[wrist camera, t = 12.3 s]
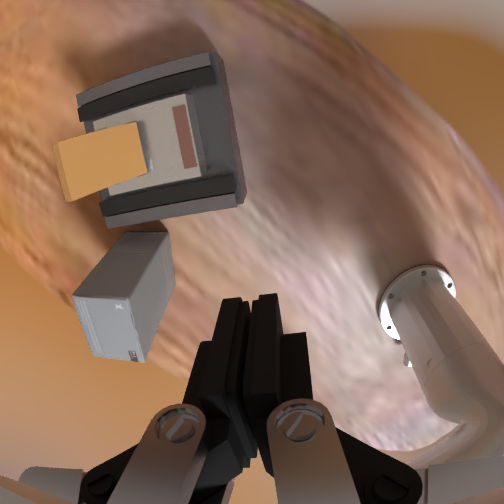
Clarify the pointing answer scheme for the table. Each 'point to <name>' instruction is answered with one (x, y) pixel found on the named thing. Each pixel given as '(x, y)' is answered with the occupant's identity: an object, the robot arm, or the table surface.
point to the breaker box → (171, 140)
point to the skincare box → (126, 296)
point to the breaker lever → (99, 160)
